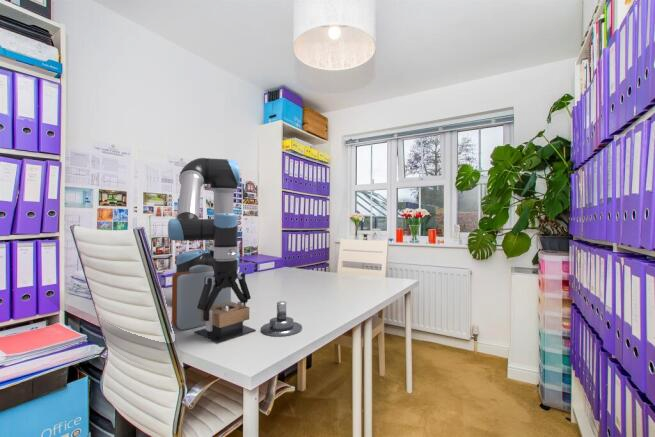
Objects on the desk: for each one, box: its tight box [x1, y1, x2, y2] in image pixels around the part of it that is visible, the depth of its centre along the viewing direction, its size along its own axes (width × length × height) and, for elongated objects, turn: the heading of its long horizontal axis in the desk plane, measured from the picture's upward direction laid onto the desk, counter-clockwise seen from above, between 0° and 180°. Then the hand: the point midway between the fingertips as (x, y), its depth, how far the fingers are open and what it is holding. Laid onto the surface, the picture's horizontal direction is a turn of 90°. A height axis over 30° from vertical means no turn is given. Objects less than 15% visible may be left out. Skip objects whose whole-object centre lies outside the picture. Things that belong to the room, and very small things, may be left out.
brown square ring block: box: [201, 301, 250, 328], centre depth 104 cm, size 11×11×4 cm
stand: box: [194, 305, 257, 344], centre depth 104 cm, size 14×14×8 cm
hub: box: [260, 300, 303, 338], centre depth 107 cm, size 14×14×9 cm
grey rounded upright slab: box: [171, 265, 232, 331], centre depth 113 cm, size 18×9×21 cm, turn 134°
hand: (225, 325), depth 104 cm, fingers closed on brown square ring block, 11 cm apart
